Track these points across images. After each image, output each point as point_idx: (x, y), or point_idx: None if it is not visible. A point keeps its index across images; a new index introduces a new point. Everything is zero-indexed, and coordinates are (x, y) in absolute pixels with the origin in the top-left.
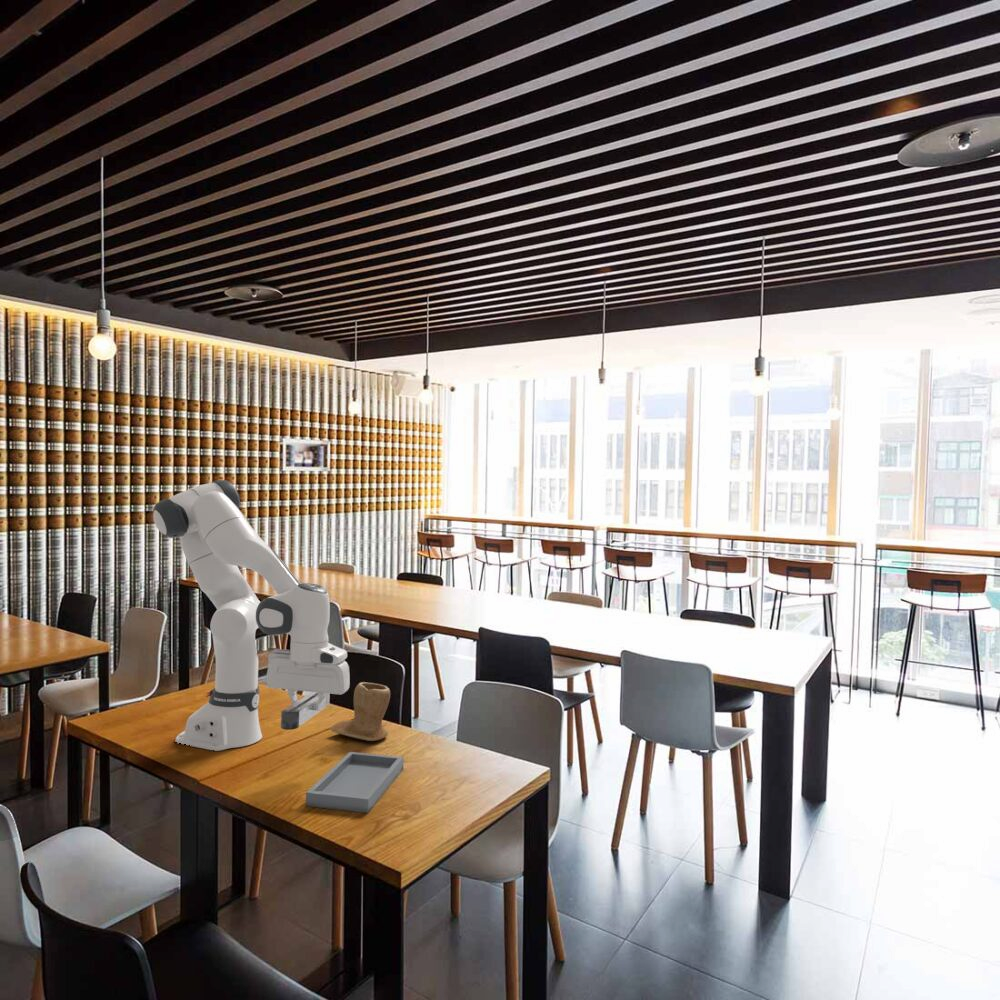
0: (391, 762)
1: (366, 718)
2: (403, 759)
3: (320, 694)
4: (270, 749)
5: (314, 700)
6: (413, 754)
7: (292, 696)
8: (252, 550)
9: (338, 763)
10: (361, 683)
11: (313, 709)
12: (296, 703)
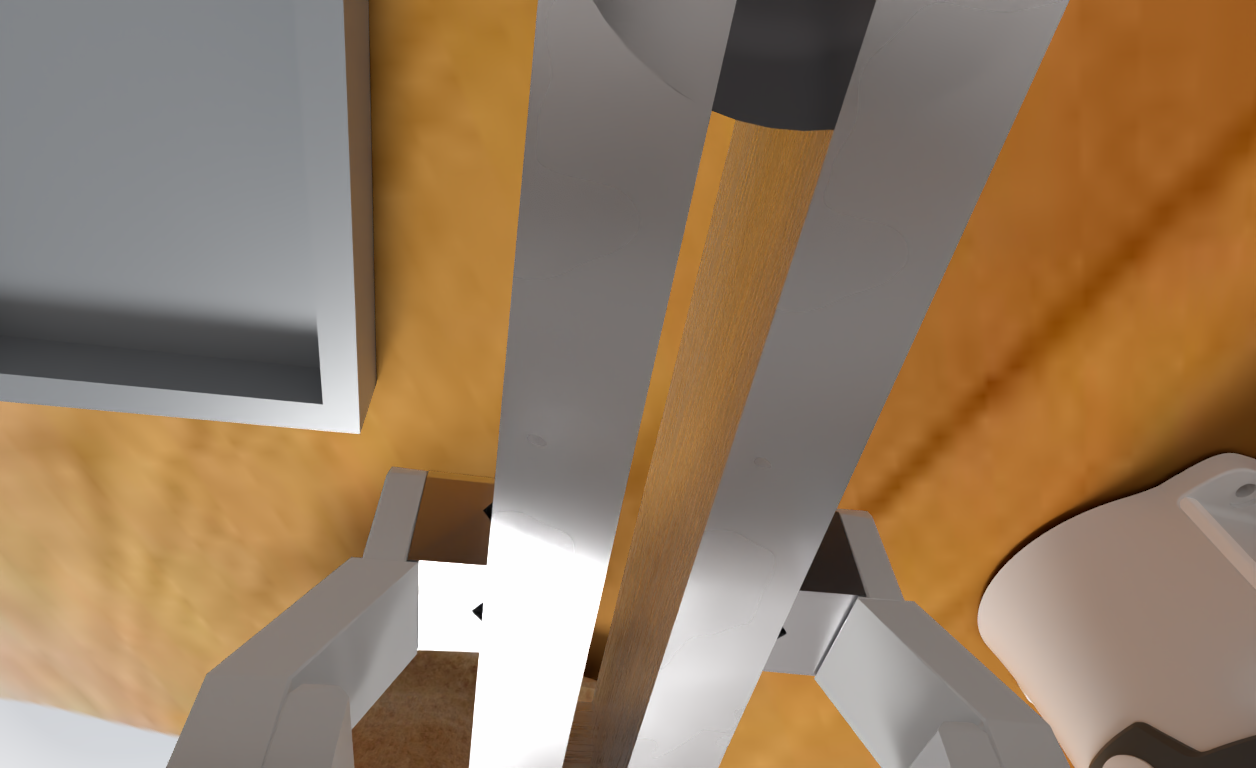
0: (10, 352)
1: (396, 762)
2: None
3: (242, 738)
4: (914, 505)
5: (505, 665)
6: (49, 533)
7: (929, 677)
8: None
9: (340, 229)
10: None
11: (476, 478)
12: (797, 499)
